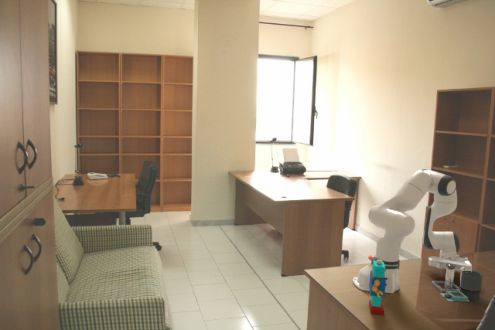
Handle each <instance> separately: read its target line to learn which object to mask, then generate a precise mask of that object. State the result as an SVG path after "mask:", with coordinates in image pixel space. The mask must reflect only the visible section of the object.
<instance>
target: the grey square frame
mask: <svg viewBox="0 0 495 330" xmlns="http://www.w3.org/2000/svg"><path fill="white" fill-rule="evenodd" d="M431 284H432V285H433V286H435V288H437V289H438V290H439V291H440V292H443V293H446V291H459V288H460V287H459V286H458V285H456V284H455V283H454V282H453V288H452V289H447V288H442V287H441V286H440V285H443V284H444V285H445V280H431ZM438 284H439V285H438Z"/></svg>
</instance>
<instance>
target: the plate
mask: <svg viewBox="0 0 495 330" xmlns="http://www.w3.org/2000/svg"><path fill="white" fill-rule="evenodd" d="M439 294H440V295H441V296H442V297H444V299H446V300H447V301H448V302H470V300H469V297H468V296H467V295H465V294H464V293H463V292H460V291H446V292H443V293H441V292H440V293H439Z"/></svg>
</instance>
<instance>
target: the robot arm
mask: <svg viewBox="0 0 495 330" xmlns="http://www.w3.org/2000/svg"><path fill="white" fill-rule="evenodd" d="M427 193H431V194H433V203H432V204H431V205H430V206H428V208H427V212H426V218H425V223H424V224H425V225H424V228H423V229H424V230H423V235H422V237H421V242H422V245H423V247H424V248H425V249H427V250H440V251H439V256H436V255H435V256H434V255H431V256H429V257H427V260H428V266H430V267H435V268H438V269H439V270H442V269H447V267H446V264H447V263H450V264H454V265H456V268H455V271H457V272H459V273H461V272H462V271H471V272H473V270H472V269H473V264H472V262H470V260H469V258H468V257H466V256H463V255H459V254H457V253H458V252H460V249H461V247H460V239H459V236H458V234H456V232H455V231H433V228H434V222H435V221H436V220H437V219H439V218H441V217H444V216H445V217H446V216H448V215H451V214H452V213H454V212H455V211H456V209H457V206H458V194H457V193H458V192H457V181H456V180H455V178H454V177H452V176H450V175H447V174H444V173H441V172H439V171H435V170H430V169H424V168H422V169H421V168H420V169H418V170H416V171H415V172H414V173H412V175H410V176H409V177H408V178H407V179H406V180H405V182H404V183H403V185H401V186H400V188H399V189H398V191H396V193H395V194H394V195H393V196H391V197H390V198H389V199H387V200H386V201H384V202H382V203H380V204H377V205H374V206H372V207H371V208H370V210H369V211H368V213H367V214H368V217H367V218H368V220H369V222H370V223H371V224H373V226H376V227H377V228H380V229H382V230H384V231H385V233H384V235H383V237H381V238H379V239H378V240H377V241H376V245H375V255H374V256H373V255H370V254H369V256H367V257H368V258H367V259H368V260H369V261H370V263H369V264H367V265H365V266H363V267H362V268H360V269H359V271H358V273H357V276H354V277H353V279H352V284H353V285H354V286H355V287H356V288H357V289H359V290H361V291H366V292H370V289H369V282H370V271H371V270H372V266H373V261H377V260H382V262H384V265H385V268H386V271H385V279H386V286H385V293H386V294H394V293H395V292H396V291H399V290H400V288H401V287H400V281H399V270H400V264H401V260H400V252H401V247H402V243H403V241H404V240H405V238H406V237H407V236H410V235H411V234H412V233H413V232H414V230H415V228H416V221H415V219H414V218H413V217H412V216H411V215H410V214H408V213H407V212H409V211H412V210H414V209H416V207H417V206H418V205H419V204H420V202H421V201H422V199H423V198H424V197H425V195H426V194H427ZM379 255H380V256H379ZM462 273H463V272H462ZM462 273H461V274H462Z"/></svg>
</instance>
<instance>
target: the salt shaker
mask: <svg viewBox="0 0 495 330" xmlns="http://www.w3.org/2000/svg"><path fill="white" fill-rule="evenodd" d="M446 267H447V269H446V270H445V279H444V281H445V284H444V289H454V286H453V283H454V280H455V279H454V278H455V271H456V270H455V268H456V265H454V264H450V263H447V264H446Z"/></svg>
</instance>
